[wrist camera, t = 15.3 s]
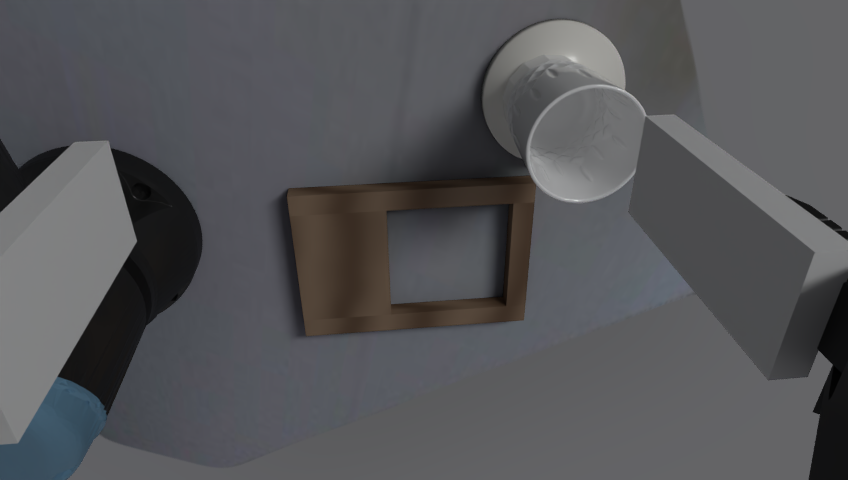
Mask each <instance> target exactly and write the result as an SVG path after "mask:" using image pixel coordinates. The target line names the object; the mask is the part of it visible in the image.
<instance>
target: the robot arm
mask: <svg viewBox="0 0 848 480" xmlns="http://www.w3.org/2000/svg"><path fill="white" fill-rule="evenodd" d="M628 212H629V214H630V215H631V216H632V217H633V218H634V220H635V221H636V222H637V223H638V224H639V226H640V227H641V228H642V229H643V230H644V232H645V233H646V234H647V235H648V236H649V238H650V239H651V240H652V241H653V242H654V244H655V245H656V246H657V247H658V248H659V250H660V251H661V252H662V253H663V254H664V256H665V257H666V258H667V259H668V260H669V262H670V263H671V264H672V265H673V266H674V268H675V269H676V270H677V271H678V272H679V274H680V275H681V276H682V277H683V278H684V280H685V281H686V282H687V283H688V284H689V286H690V287H691V288H692V289H693V290H694V292H695V293H696V294H697V295H698V296H699V298H700V299H701V300H702V301H703V302H704V304H705V305H706V306H707V307H708V308H709V310H710V311H711V312H712V313H713V314H714V316H715V317H716V318H717V319H718V321H719V322H720V323H721V324H722V325H723V326H724V328H725V329H726V330H727V331H728V333H729V334H730V335H731V336H732V337H733V338H734V340H735V341H736V342H737V343H738V345H739V346H740V347H741V348H742V349H743V351H744V352H745V353H746V354H747V355H748V356H749V358H750V359H751V360H752V361H753V362H754V364H755V365H756V366H757V367H758V369H759V370H760V371H761V372H762V373H763V374H764V376H765V377H766V378H767V379H768V380H777V379H788V378H800V377H808V374H809V372H810V370H811V367H812V365H813V362H814V360H815V357H816V355H817V353H818V350H819V351H820V352H821V353H822V354H823V355H824V356H825V357H826V358H827V359H828V360H829V361H830V362H831V363H832V364H833V366H832V368H831V371H830V373H829V375H828V378H827V380H826V382H825V385H824V387H823V389H822V392H821V394H820V396H819V399H818V401H817V403H816V406H815V408H814V410H813V412H814V413H817V414H820V418H819V424H818V429H817V435H816V441H815V446H814V452H813V458H812V464H811V470H810V475H809V480H848V232H847V231H842V228H841V227H840V226H839V225H837V224H836V223H834V222H833V221H831V220H828V218H827V217H826V216H824V215H823V214H822V213H820V212H819V211H817V210H816V209H815V208H813V207H812V206H810V205H808V204H806V203H804V202H801V201H799V200H797V199H794V198H792V197H789V196H787V195H784V194H783V193H781V192H780V191H779V190H777V189H776V188H775V187H773V186H772V185H770V184H769V183H768V182H766V181H765V180H764V179H762V178H761V177H759V176H758V175H757V174H755V173H754V172H753V171H751V170H750V169H748V168H747V167H746V166H744V165H743V164H742V163H740V162H739V161H738V160H736V159H735V158H733V157H732V156H731V155H729V154H728V153H727V152H725V151H724V150H722V149H721V148H720V147H718V146H717V145H715V144H714V143H713V142H711V141H710V140H709V139H707V138H706V137H705V136H703V135H702V134H701V133H699V132H698V131H696V130H695V129H694V128H692V127H691V126H690V125H688V124H687V123H685V122H684V121H683V120H681V119H680V118H679V117H677V116H676V115H655V116H645V122H644V127H643V133H642V138H641V144H640V150H639V155H638V161H637V166H636V172H635V178H634V183H633V189H632V194H631V200H630V206H629V211H628ZM201 252H202V232H201V227H200V223H199V220H198V217H197V215H196V212H195V210H194V208H193V206H192V204H191V203H190V201H189V200H188V198H187V197H186V195H185V194H184V193H183V191H182V190H181V189H180V188H179V187H178V186H177V185H176V184H175V183H174V182H173V181H172V180H171V179H170V178H169V177H168V176H167V175H165V174H164V173H163V172H161V171H160V170H159V169H157V168H156V167H154V166H153V165H151V164H149V163H148V162H146V161H144V160H142V159H140V158H138V157H135V156H133V155H130V154H128V153H125V152H122V151H119V150H115V149H111V148H110V145H109V142H108V141H86V142H74V143H73V144H72V145H71V146H66V147H61V148H56V149H53V150H49V151H47V152H44V153H42V154H40V155H38V156H36V157H34V158H32V159H31V160H29V161H28V162H26V163H25V164H24V165H23V166H21V167H20V168H19V169H18V168H17V166H16V164H15V163H14V161H13V159H12V158H11V156H10V154H9V153H8V151H7V149H6V148H5V146H4V144H3V143H2V141H1V139H0V480H67V479H68V478H69V477H70V476H71V475H72V474H73V473H74V472H75V470H76V469H77V468H78V467H79V465H80V464H81V462H82V460H83V458H84V457H85V455H86V453H87V451H88V449H89V447H90V445H91V444H92V442H93V440H94V439H95V438H96V437H97V436H98V435H99V434H100V431H101V430H102V429H103V428H104V426H105V423H106V420H107V415H108V413H109V411H110V409H111V406H112V404H113V402H114V399H115V397H116V395H117V392H118V390H119V388H120V385H121V383H122V381H123V378H124V376H125V374H126V371H127V369H128V367H129V364H130V362H131V360H132V357H133V355H134V353H135V350H136V348H137V346H138V343H139V341H140V339H141V336H142V334H143V332H144V329H145V327H146V325H148V324H149V323H150V322H151V321H152V320H153V319H154V318H155V317H156V316H157V314H159V313H161V312H163V311H164V310H166V309H167V308H168V307H170V306H171V305H172V304H173V303H175V302H176V301H177V300H178V299H179V298H180V297H181V296H182V294H183V293H184V292H185V290H186V289H187V288H188V286H189V284H190V283H191V281H192V279H193V276H194V274H195V271H196V269H197V266H198V264H199V261H200V257H201Z"/></svg>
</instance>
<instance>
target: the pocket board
mask: <svg viewBox="0 0 848 480" xmlns="http://www.w3.org/2000/svg"><path fill="white" fill-rule="evenodd" d="M535 190H536V184H535V183H534V181H533V180H532V178H531V176H513V177H494V178H476V179H457V180H438V181H419V182H401V183H382V184H363V185H344V186H326V187H307V188H289V189H288V194H287V201H288V208H289V215H290V223H291V230H292V237H293V245H294V252H295V259H296V266H297V274H298V281H299V288H300V295H301V303H302V310H303V317H304V324H305V332H306V336H314V335H328V334H342V333H355V332H369V331H383V330H396V329H410V328H424V327H438V326H451V325H465V324H479V323H492V322H506V321H520V320H524V313H525V302H526V290H527V279H528V268H529V257H530V246H531V235H532V224H533V213H534V201H535ZM497 204H509V212H508V227H507V242H506V257H505V272H504V287H503V297H492V298H477V299H463V300H448V301H434V302H420V303H405V304H391V298H390V277H389V255H388V234H387V213H386V211H392V210H409V209H427V208H444V207H462V206H480V205H497Z"/></svg>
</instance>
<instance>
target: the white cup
mask: <svg viewBox="0 0 848 480" xmlns="http://www.w3.org/2000/svg"><path fill="white" fill-rule="evenodd" d="M502 99H503V109H504V117H505V119H506V121H507V123H508V125H509V129H510V132H511V135H512V137H513V139H514V142H515V145H516V147H517V149H518V151H519V153H520V155H521V157H522V159H523V161H524V163H525V165H526V167H527V170H528V172H529V174H530V176H531V178H532V180H533V181H534V183H535V184H536V185H537V186H538V188H539V189H540V190H542V191H543V192H544V193H545V194H547V195H548V196H550V197H552V198H554V199H557V200H559V201H563V202H568V203H586V202H591V201H595V200H598V199H601V198H604V197H606V196H608V195H610V194H612V193H614V192H615V191H617V190H618V189H620V188H621V187H622V186H623V185H625V184H626V183H627V182H628V181H629V180H630V179H631V178H632V177H633V175H634V174H635V172H636V166H637V161H638V155H639V150H640V144H641V138H642V133H643V127H644V122H645V116H646V113H645V111H644V109H643V107H642V106H641V104H640V103H639V102H638V101H637V99H636V98H634V97H633V96H632V95H631V94H630V93H628V92H626V91H625V90H623V89H622V88H620V87H618V86H617V85H615V84H614V83H612V82H610V81H609V80H607V79H606V78H604V77H602V76H601V75H599V74H598V73H596V72H595V71H593V70H591V69H589V68H587V67H586V66H584V65H581V64H578V63H575V62H574V61H572V60H570V59H569V58H567V57H565V56H564V55H541V56H538V57H536V58H534V59H531V60H529V61H527V62H524V63H523V64H522V65H521V66H520V67H519V68H518V69H517V71H516V72H515V73H514V74H513V75H512V76H511V77H510V78H509V80H508V83H507V86H506V89H505V92H504V94H503V97H502Z"/></svg>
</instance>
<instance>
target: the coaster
mask: <svg viewBox="0 0 848 480" xmlns="http://www.w3.org/2000/svg"><path fill="white" fill-rule="evenodd" d="M541 55H564V56H565V57H567V58H569V59H570V60H572V61H574V62H575V63H578V64H581V65H584V66H586V67H587V68H589V69H591V70H593V71H595V72H596V73H598V74H599V75H601V76H602V77H604V78H606V79H607V80H609V81H610V82H612V83H614V84H615V85H617V86H618V87H620V88H622V89H623V90H625V72H624V67H623V63H622V60H621V57H620V55H619V53H618V51H617V50H616V48H615V47H614V45H613V44H612V43H611V41H610V40H609V39H608V38H607V37H606V36H604V35H603V34H602V33H600V32H599V31H598V30H596V29H594V28H593V27H591V26H589V25H587V24H585V23H582V22H579V21H576V20H570V19H550V20H545V21H541V22H537V23H535V24H532V25H530V26H528V27H526V28H524V29H522V30H520V31H519V32H517V33H516V34H515V35H513V36H512V37H511V38H510V39H509V40H507V41H506V42H505V43H504V44H503V46H502V47H501V48H500V49H499V50H498V51H497V53H496V54H495V56H494V57H493V59H492V61H491V63H490V64H489V66H488V69H487V71H486V74H485V77H484V81H483V85H482V93H481V103H482V110H483V115H484V118H485V121H486V123H487V125H488V128H489V130H490V131H491V133H492V135H493V136H494V138H495V139H496V141H497V142H498V143H499V144H500V145H501V146H502V147H503V148H504V149H505V150H507V151H508V152H509V153H511V154H513V155H514V156H516V157H518V158H521V159H522V157H521V155H520V153H519V151H518V149H517V147H516V145H515V142H514V139H513V137H512V135H511V132H510V129H509V125H508V123H507V121H506V119H505V117H504V109H503V99H502V97H503V94H504V92H505V89H506V86H507V83H508V80H509V78H510V77H511V76H512V75H513V74H514V73H515V72H516V71H517V69H518V68H519V67H520V66H521V65H522V64H523V63H524V62H527V61H529V60H531V59H534V58H536V57H538V56H541Z"/></svg>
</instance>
